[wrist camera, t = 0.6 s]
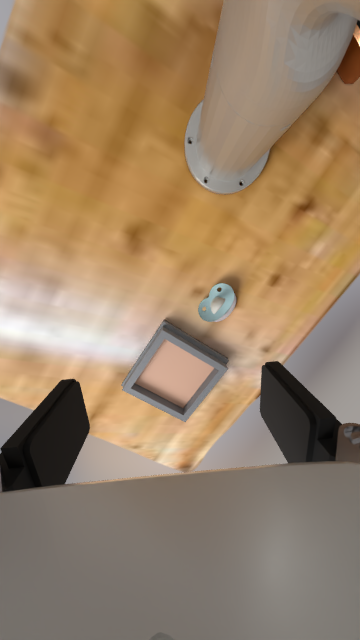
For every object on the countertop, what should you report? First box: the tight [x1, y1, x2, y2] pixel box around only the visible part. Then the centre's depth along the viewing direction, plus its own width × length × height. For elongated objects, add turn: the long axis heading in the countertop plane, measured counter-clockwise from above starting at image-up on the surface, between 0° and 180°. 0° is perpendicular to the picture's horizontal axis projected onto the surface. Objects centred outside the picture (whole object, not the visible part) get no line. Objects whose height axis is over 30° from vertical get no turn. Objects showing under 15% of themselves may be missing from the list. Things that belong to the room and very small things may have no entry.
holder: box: [121, 320, 229, 422], centre depth 41 cm, size 16×15×3 cm
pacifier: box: [198, 283, 236, 322], centre depth 36 cm, size 7×6×6 cm
